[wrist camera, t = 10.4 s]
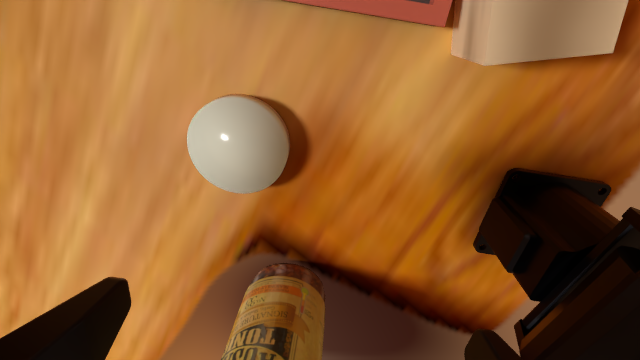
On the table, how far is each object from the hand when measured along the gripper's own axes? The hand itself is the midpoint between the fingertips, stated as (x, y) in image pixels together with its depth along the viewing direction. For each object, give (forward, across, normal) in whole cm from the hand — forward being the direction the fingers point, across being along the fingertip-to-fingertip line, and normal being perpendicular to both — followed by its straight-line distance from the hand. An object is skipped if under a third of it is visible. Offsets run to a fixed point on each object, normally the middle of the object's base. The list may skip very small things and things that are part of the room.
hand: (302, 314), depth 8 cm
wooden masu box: (+13, -8, -9) cm, 18 cm away
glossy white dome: (+13, +5, +1) cm, 14 cm away
